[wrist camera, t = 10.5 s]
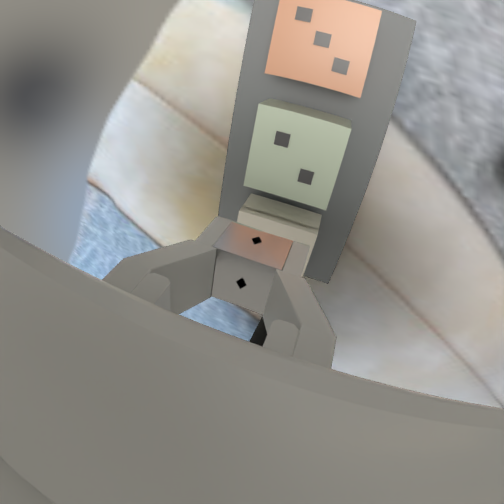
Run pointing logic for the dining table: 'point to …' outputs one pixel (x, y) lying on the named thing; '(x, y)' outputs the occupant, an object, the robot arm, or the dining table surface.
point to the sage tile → (296, 152)
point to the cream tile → (281, 220)
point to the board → (326, 100)
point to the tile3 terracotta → (324, 43)
